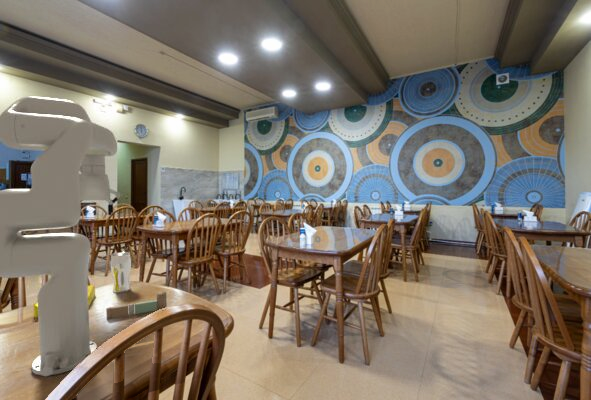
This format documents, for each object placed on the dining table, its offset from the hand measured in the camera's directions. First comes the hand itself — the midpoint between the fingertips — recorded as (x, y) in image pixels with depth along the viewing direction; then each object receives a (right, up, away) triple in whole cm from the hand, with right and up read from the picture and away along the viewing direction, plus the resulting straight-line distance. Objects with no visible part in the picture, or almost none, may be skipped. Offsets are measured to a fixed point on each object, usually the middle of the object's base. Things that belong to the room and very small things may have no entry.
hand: (94, 215), depth 108 cm
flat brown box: (+24, -32, -12) cm, 42 cm away
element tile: (-4, -32, -8) cm, 34 cm away
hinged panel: (+28, -32, -13) cm, 44 cm away
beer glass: (+6, -31, +6) cm, 32 cm away
